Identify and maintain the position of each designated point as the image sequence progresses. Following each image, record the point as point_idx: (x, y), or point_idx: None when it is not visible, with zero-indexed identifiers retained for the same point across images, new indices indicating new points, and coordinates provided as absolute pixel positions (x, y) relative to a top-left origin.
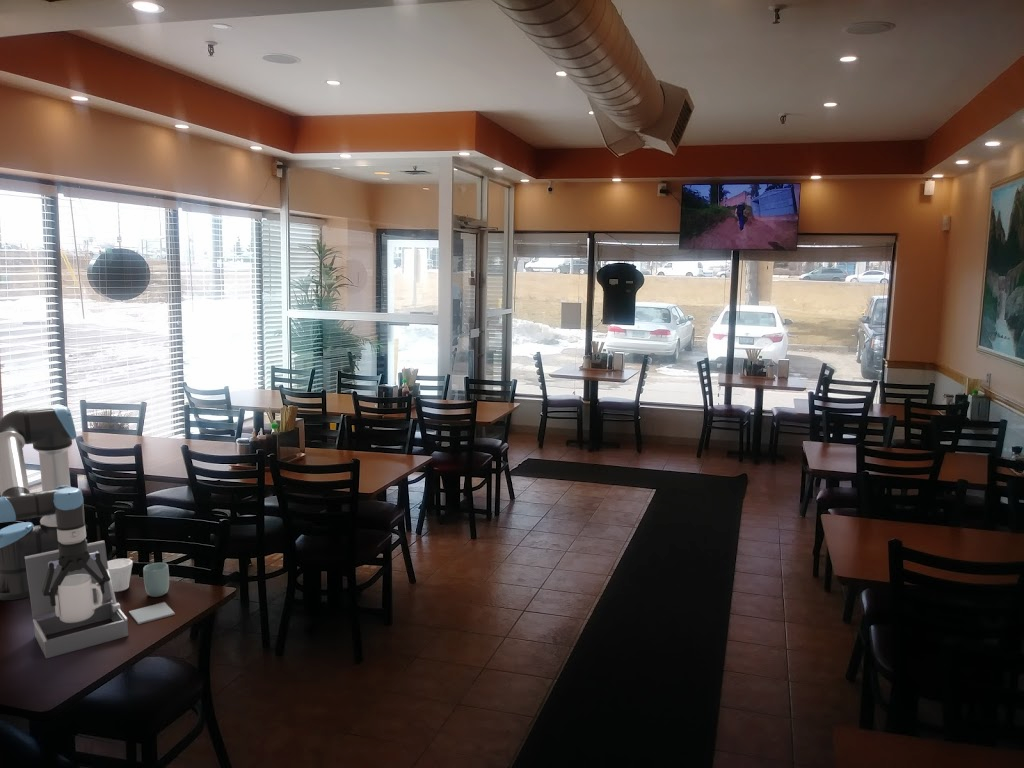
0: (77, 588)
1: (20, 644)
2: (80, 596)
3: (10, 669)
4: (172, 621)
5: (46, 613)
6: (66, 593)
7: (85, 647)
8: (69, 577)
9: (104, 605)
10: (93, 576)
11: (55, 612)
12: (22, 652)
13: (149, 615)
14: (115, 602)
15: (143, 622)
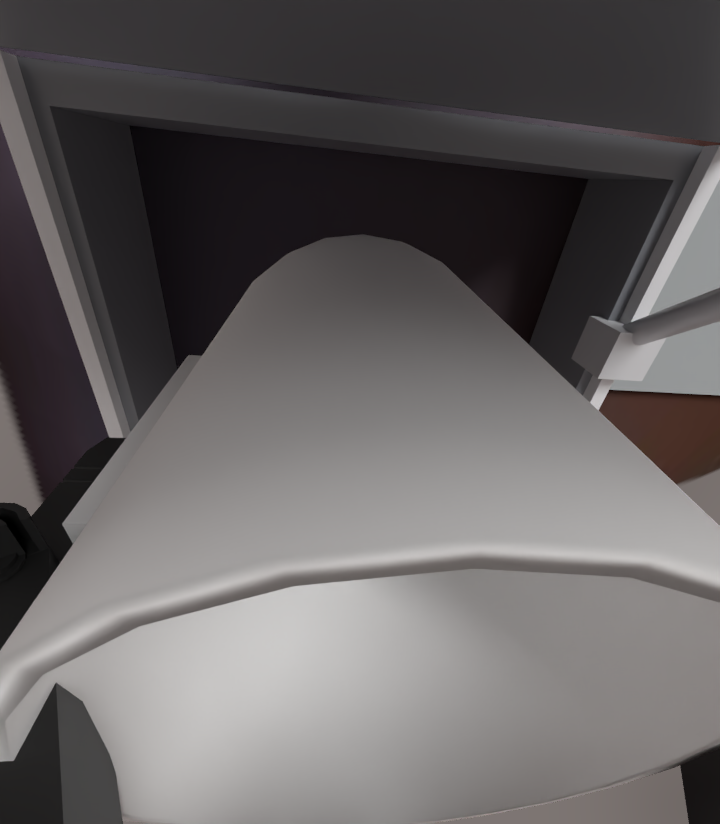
0: (362, 763)
1: (7, 166)
2: (377, 633)
3: (33, 455)
4: (682, 447)
5: (110, 54)
6: (240, 691)
7: None
8: (436, 502)
9: (627, 176)
10: (700, 799)
11: (184, 367)
12: (52, 313)
13: (695, 344)
14: (652, 341)
15: (622, 387)
